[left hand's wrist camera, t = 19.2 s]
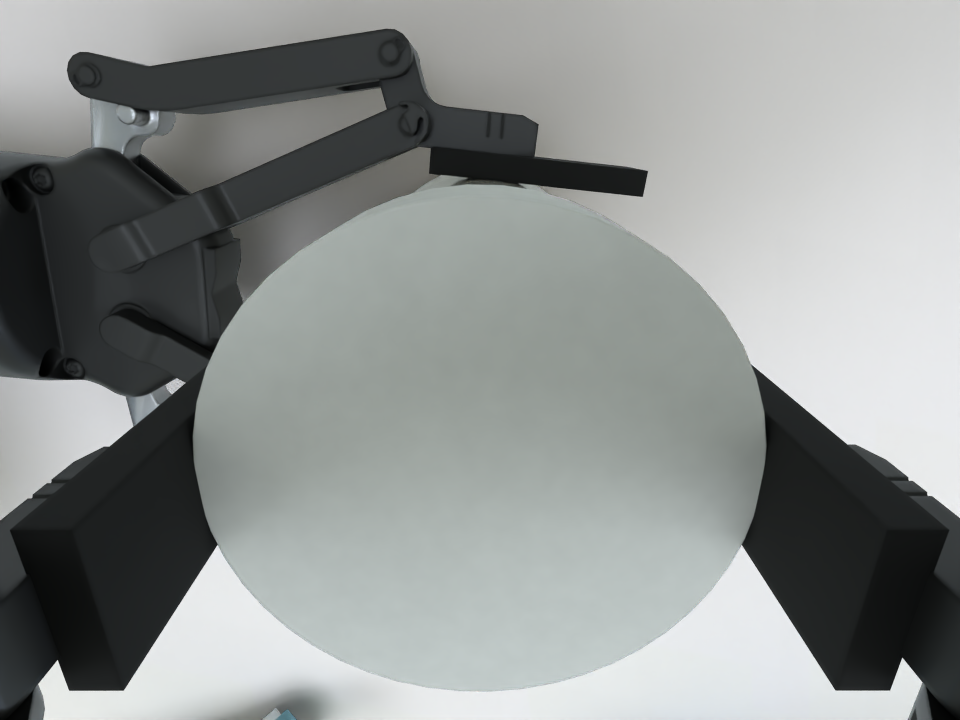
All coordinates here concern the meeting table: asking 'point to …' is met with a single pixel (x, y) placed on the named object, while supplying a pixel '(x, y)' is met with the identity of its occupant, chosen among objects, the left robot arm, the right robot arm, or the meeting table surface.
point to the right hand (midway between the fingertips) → (605, 326)
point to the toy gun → (279, 715)
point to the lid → (479, 441)
